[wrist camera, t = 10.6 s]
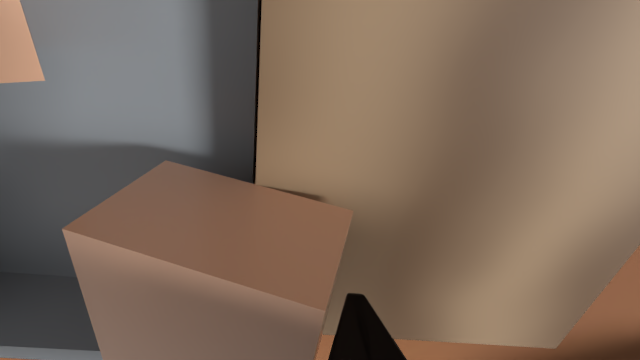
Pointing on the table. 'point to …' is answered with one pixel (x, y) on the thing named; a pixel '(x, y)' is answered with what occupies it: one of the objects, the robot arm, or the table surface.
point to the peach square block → (207, 268)
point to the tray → (110, 138)
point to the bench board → (460, 154)
